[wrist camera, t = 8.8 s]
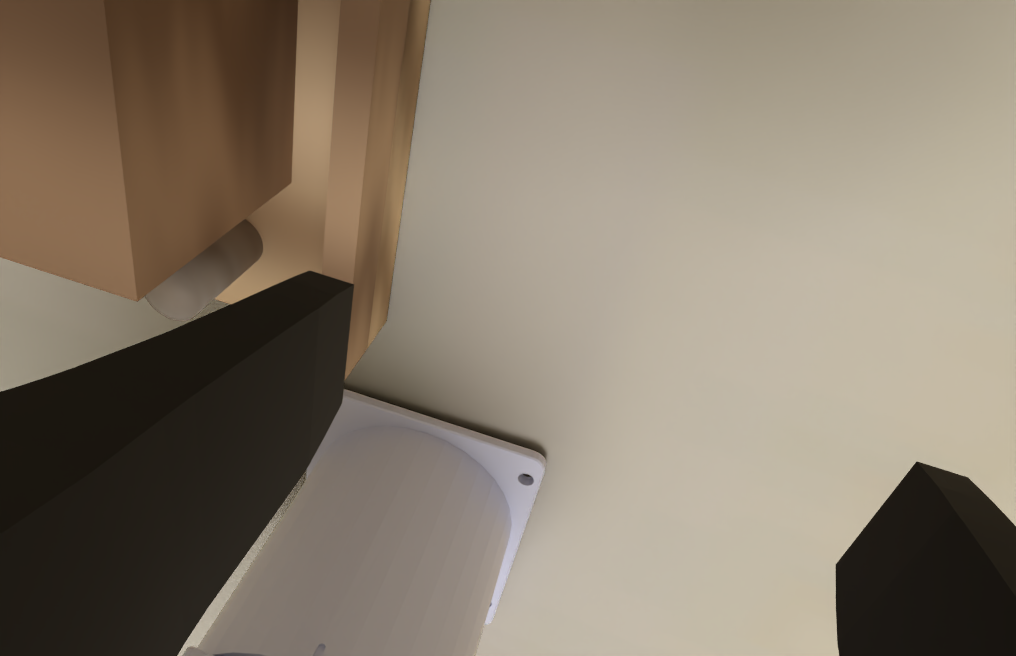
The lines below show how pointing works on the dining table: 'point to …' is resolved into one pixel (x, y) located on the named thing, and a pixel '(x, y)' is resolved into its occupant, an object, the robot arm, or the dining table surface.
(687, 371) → the dining table surface
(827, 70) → the dining table surface
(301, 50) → the wooden stand base
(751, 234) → the dining table surface
